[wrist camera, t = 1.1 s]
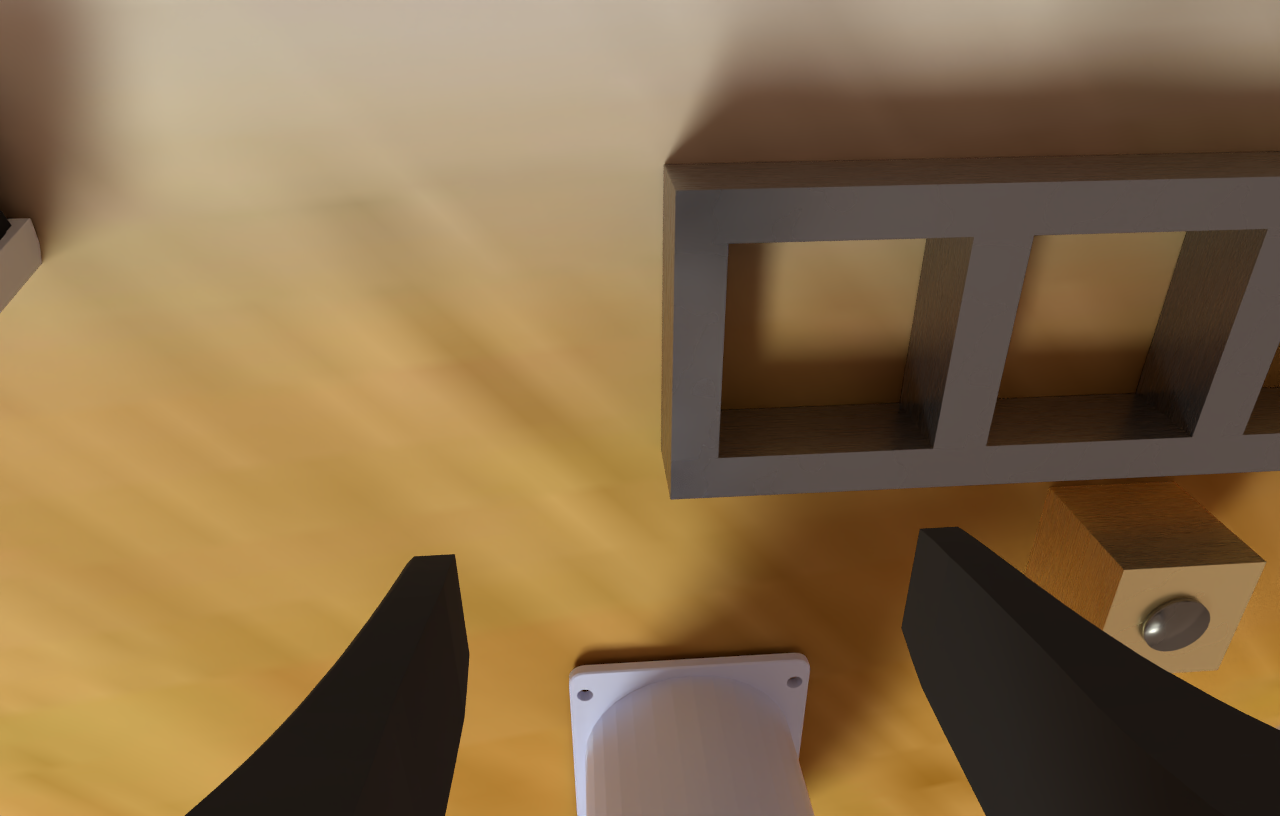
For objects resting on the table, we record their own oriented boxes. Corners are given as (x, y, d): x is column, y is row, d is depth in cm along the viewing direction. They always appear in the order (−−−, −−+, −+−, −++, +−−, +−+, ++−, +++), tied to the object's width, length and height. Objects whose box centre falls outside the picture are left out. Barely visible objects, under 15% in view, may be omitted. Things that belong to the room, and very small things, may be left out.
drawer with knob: (1135, 579, 28) (1222, 675, 24) (1020, 586, 28) (1089, 683, 24) (1172, 479, 26) (1272, 567, 22) (1048, 485, 26) (1128, 574, 22)
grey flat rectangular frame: (1384, 418, 25) (1461, 462, 23) (660, 449, 24) (670, 499, 22) (1515, 146, 21) (1624, 168, 19) (663, 164, 20) (675, 190, 18)
